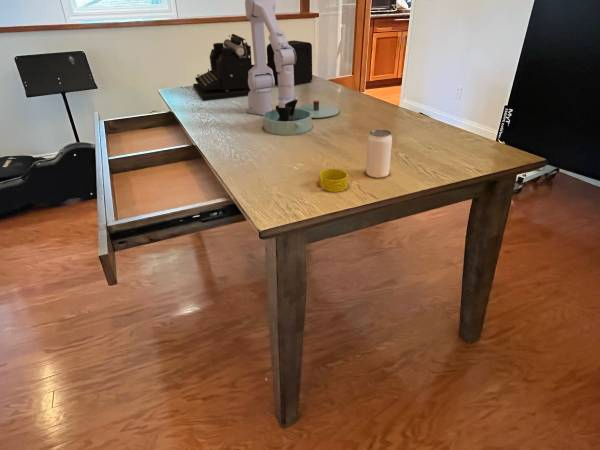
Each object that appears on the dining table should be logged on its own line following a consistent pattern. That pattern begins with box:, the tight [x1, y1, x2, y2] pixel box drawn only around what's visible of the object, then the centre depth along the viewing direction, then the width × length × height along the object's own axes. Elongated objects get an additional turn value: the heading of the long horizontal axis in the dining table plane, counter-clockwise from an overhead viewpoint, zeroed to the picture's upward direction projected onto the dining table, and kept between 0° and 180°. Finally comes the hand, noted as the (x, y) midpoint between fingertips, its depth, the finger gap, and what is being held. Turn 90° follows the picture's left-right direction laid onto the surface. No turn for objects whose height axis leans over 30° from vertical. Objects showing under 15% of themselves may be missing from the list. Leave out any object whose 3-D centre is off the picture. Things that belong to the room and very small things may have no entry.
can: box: [365, 128, 393, 179], centre depth 114 cm, size 6×6×12 cm
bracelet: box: [318, 168, 349, 193], centre depth 110 cm, size 7×8×3 cm
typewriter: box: [192, 33, 253, 102], centre depth 204 cm, size 31×27×25 cm
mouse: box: [276, 115, 299, 121], centre depth 155 cm, size 8×5×4 cm, turn 77°
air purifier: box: [266, 40, 313, 87], centre depth 218 cm, size 20×15×20 cm
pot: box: [262, 107, 313, 136], centre depth 155 cm, size 18×23×5 cm
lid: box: [296, 100, 340, 119], centre depth 171 cm, size 19×19×5 cm
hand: (287, 122), depth 155 cm, fingers open, 7 cm apart
